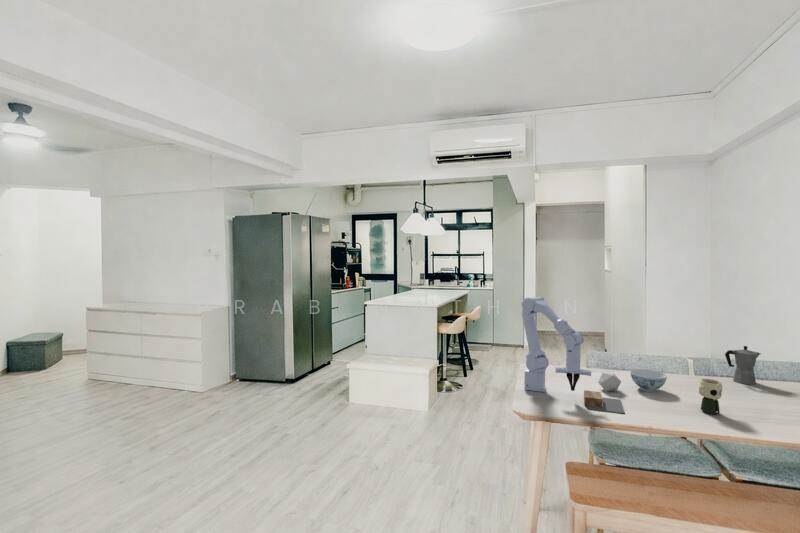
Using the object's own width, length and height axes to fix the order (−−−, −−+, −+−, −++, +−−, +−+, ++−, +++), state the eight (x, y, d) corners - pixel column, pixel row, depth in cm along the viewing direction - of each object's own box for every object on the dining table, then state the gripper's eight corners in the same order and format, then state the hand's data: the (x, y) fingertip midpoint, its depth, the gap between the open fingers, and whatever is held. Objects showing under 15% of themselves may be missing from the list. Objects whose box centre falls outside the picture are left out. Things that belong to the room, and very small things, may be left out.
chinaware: (646, 396, 193) (646, 379, 193) (622, 385, 208) (623, 370, 207) (674, 393, 196) (675, 377, 196) (649, 383, 211) (649, 368, 211)
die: (618, 396, 196) (627, 376, 198) (600, 385, 197) (609, 366, 200) (610, 396, 204) (617, 378, 206) (592, 386, 205) (600, 368, 208)
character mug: (706, 417, 170) (707, 384, 169) (691, 410, 177) (692, 379, 176) (729, 414, 172) (730, 383, 171) (713, 408, 179) (714, 377, 178)
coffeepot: (753, 379, 215) (754, 344, 214) (765, 385, 206) (767, 348, 205) (719, 378, 218) (720, 343, 217) (729, 384, 209) (730, 347, 208)
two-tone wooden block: (584, 397, 182) (602, 399, 180) (584, 390, 191) (601, 392, 188) (584, 405, 183) (602, 407, 180) (584, 397, 191) (601, 399, 188)
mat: (587, 409, 179) (587, 408, 179) (586, 396, 194) (586, 395, 194) (624, 413, 174) (624, 412, 174) (620, 400, 189) (620, 399, 189)
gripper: (555, 360, 187) (555, 390, 187) (591, 363, 181) (591, 395, 182) (555, 356, 193) (555, 385, 194) (590, 359, 188) (590, 389, 189)
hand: (572, 389), depth 188 cm, fingers closed
